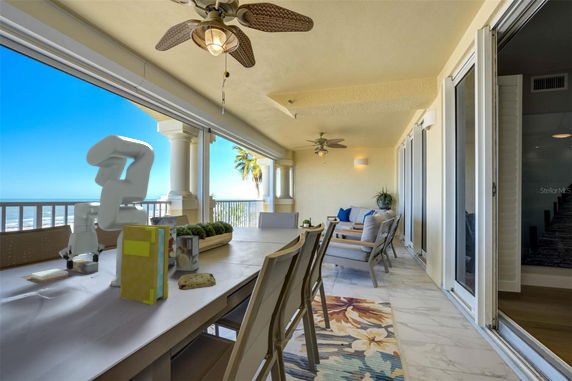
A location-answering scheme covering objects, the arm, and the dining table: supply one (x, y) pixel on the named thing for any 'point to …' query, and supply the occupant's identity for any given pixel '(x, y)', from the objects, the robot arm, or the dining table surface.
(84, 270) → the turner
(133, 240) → the book
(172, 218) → the juice carton
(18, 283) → the dining table surface
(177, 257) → the coffee box
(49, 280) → the board
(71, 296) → the dining table surface
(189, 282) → the pastry
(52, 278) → the tile
